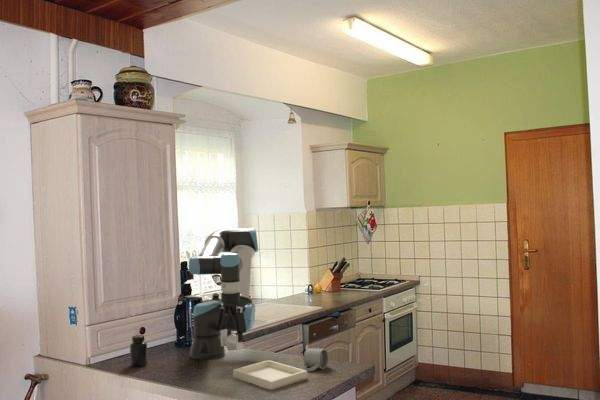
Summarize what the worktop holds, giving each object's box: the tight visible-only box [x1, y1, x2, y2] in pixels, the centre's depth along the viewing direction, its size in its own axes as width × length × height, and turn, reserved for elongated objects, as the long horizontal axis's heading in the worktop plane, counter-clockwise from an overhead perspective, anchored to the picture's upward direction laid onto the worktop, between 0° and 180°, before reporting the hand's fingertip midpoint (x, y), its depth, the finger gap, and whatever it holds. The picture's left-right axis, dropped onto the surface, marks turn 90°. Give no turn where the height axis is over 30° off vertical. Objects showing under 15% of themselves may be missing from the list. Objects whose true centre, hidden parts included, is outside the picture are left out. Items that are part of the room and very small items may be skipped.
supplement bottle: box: [129, 334, 148, 368], centre depth 233 cm, size 7×7×12 cm
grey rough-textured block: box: [225, 334, 236, 352], centre depth 227 cm, size 10×6×6 cm, turn 170°
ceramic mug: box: [302, 347, 329, 373], centre depth 224 cm, size 11×8×8 cm
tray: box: [232, 359, 308, 391], centre depth 212 cm, size 22×18×3 cm
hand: (231, 347), depth 226 cm, fingers closed on grey rough-textured block, 9 cm apart
